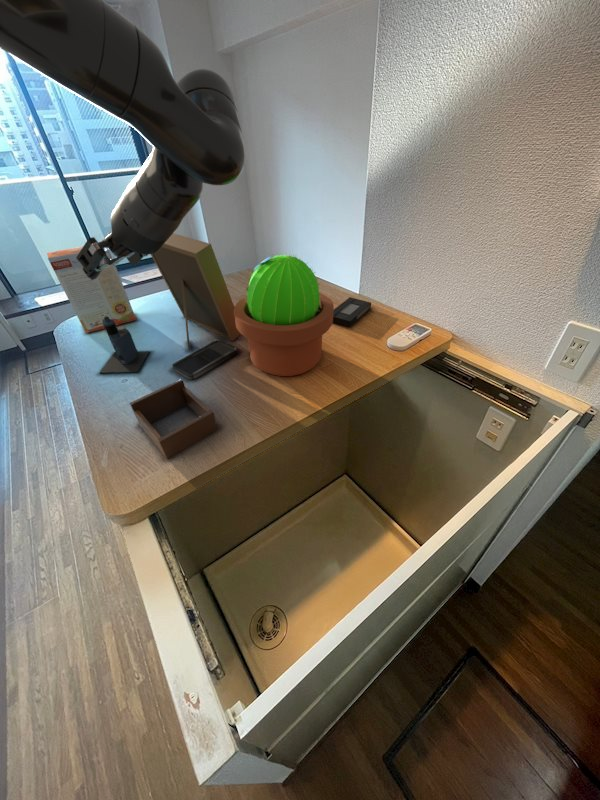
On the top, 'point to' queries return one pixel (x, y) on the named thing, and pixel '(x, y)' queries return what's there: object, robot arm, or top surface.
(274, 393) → the top surface
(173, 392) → the wooden tray
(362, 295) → the top surface
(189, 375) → the phone
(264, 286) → the potted cactus
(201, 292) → the photo frame
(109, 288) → the cracker box
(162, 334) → the top surface
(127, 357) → the vaping device
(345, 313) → the vhs tape
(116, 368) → the coaster
